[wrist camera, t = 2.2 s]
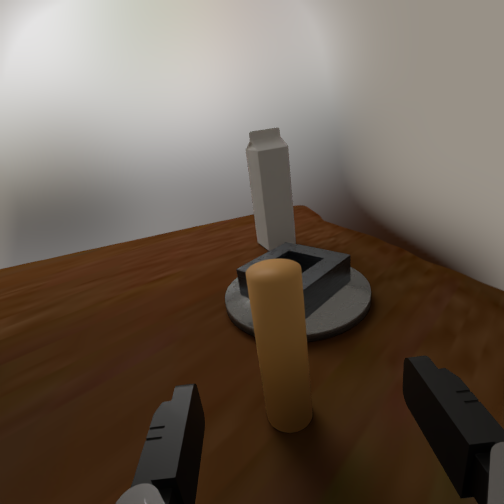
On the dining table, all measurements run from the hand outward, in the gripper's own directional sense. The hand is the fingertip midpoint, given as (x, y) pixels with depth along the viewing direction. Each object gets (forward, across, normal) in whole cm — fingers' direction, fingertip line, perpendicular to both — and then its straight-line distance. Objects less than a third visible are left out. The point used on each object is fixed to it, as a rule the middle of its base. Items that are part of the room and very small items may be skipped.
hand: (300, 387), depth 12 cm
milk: (+53, -2, +14) cm, 54 cm away
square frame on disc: (+31, -3, +14) cm, 34 cm away
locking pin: (+12, 0, +14) cm, 18 cm away
